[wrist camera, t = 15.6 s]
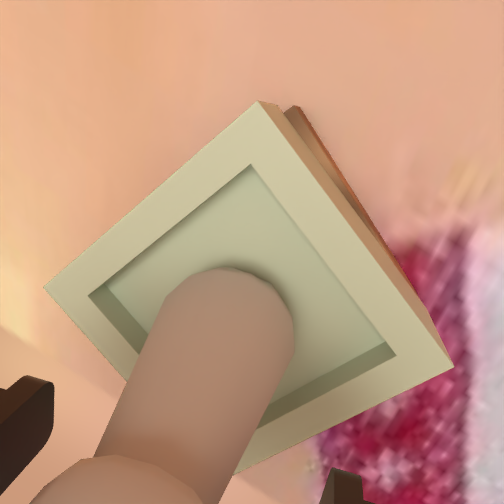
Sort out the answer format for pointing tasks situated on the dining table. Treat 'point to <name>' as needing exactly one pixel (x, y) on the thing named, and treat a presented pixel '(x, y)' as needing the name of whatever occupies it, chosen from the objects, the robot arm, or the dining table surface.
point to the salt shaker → (189, 397)
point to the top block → (263, 277)
